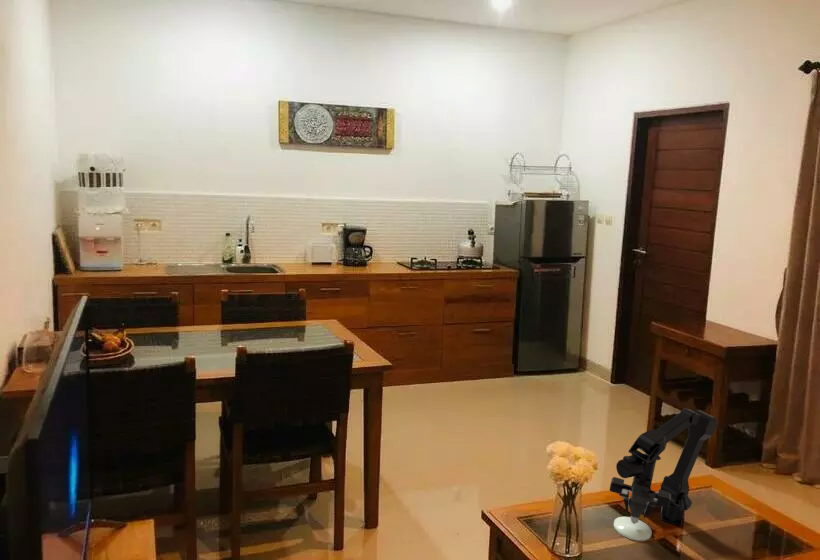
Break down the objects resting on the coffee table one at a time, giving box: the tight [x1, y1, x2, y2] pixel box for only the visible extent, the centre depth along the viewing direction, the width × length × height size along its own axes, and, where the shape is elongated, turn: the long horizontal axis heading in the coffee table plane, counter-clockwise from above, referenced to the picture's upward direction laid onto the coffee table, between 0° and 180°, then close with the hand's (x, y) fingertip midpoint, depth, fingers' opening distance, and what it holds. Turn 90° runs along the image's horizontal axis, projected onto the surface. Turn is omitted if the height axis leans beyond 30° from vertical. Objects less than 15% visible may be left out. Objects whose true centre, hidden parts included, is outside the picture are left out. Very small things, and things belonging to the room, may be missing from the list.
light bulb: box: [629, 497, 648, 524], centre depth 217 cm, size 6×6×10 cm
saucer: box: [613, 516, 653, 542], centre depth 219 cm, size 12×12×1 cm
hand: (635, 514), depth 218 cm, fingers closed on light bulb, 5 cm apart
